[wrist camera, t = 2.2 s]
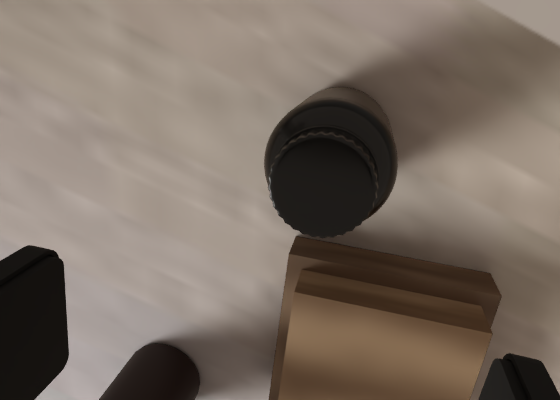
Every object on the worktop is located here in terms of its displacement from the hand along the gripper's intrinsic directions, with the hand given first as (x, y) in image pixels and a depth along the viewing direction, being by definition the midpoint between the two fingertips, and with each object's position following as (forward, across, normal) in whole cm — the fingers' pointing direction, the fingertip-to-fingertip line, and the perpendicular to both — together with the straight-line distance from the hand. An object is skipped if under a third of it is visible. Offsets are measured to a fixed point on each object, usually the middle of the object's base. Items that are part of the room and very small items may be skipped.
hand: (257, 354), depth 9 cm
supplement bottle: (+23, 0, 0) cm, 23 cm away
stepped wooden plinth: (+22, -5, +15) cm, 27 cm away
